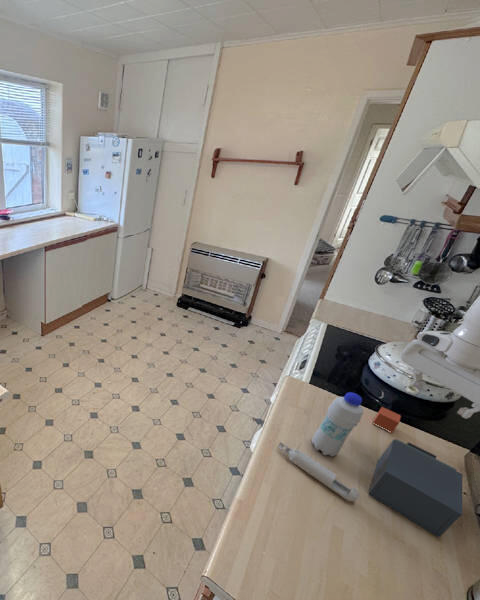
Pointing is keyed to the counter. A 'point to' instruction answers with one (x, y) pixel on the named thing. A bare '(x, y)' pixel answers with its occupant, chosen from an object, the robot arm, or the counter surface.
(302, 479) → the counter surface
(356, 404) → the bottle
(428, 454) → the drawer
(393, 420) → the block
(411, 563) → the counter surface
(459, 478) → the cabinet
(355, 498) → the white cylindrical device
